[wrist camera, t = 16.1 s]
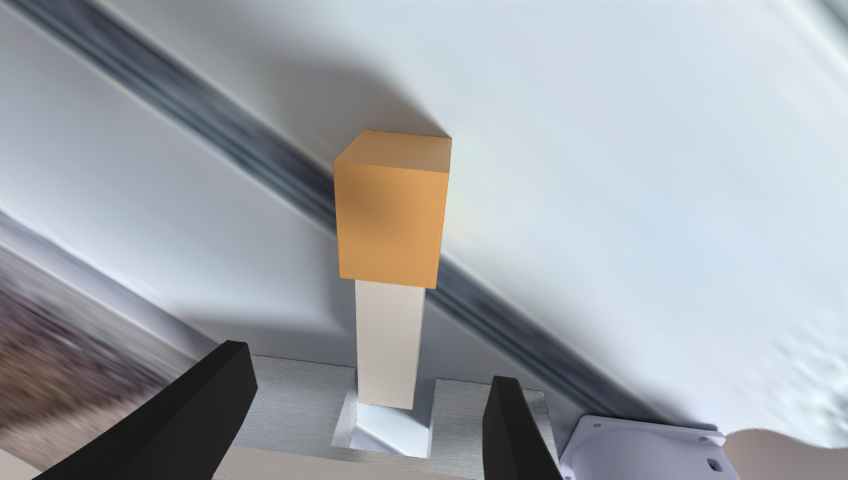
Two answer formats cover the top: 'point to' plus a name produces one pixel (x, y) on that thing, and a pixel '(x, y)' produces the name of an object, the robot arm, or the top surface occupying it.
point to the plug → (390, 251)
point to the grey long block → (334, 425)
